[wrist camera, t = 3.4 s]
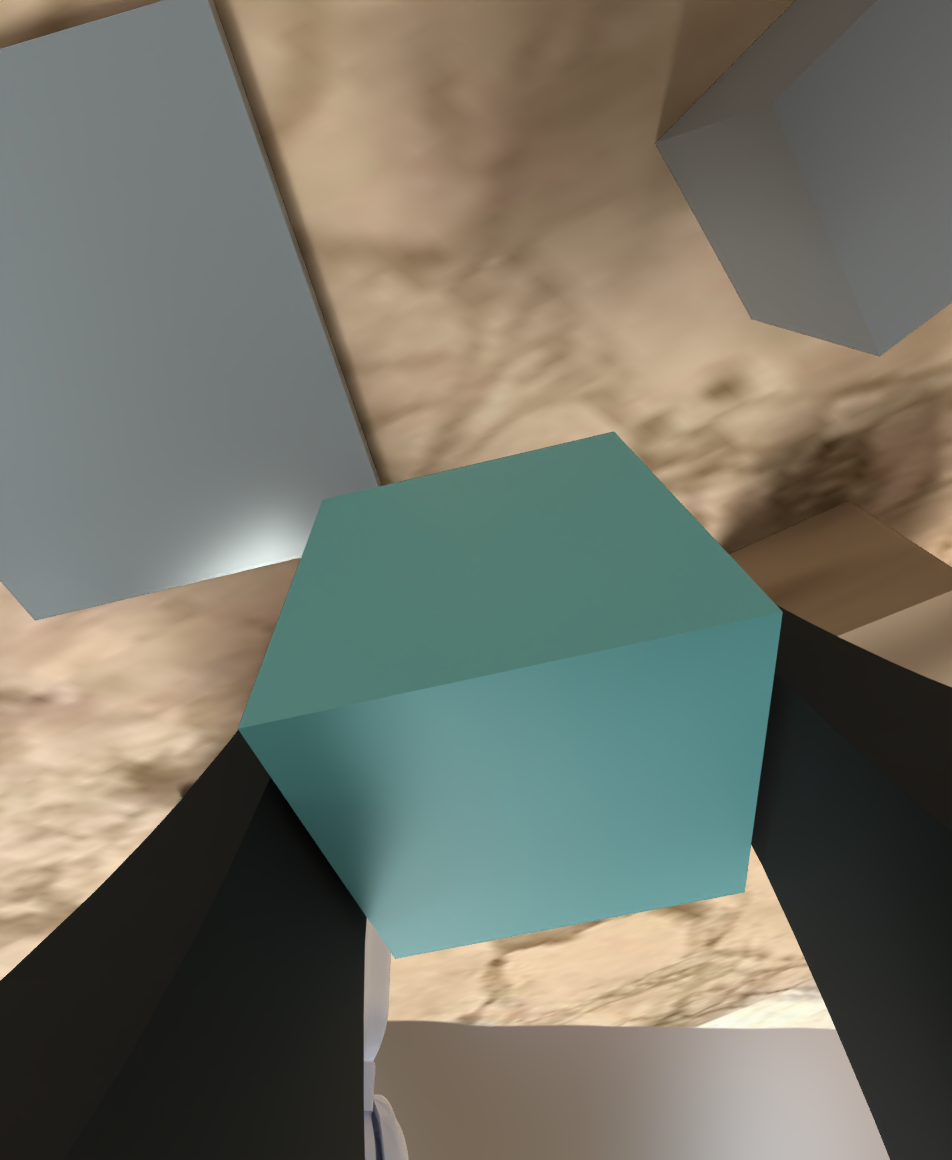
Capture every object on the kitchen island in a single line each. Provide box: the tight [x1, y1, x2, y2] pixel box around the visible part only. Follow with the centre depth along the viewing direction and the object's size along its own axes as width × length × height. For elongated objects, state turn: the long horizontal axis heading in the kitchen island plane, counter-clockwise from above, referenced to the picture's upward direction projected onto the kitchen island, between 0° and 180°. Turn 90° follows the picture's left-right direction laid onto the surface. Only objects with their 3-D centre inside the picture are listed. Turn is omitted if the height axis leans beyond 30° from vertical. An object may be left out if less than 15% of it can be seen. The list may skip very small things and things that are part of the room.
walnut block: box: [729, 501, 952, 687], centre depth 18 cm, size 5×5×5 cm
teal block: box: [238, 432, 783, 959], centre depth 8 cm, size 5×5×5 cm
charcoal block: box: [655, 0, 952, 356], centre depth 11 cm, size 5×5×5 cm
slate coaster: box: [0, 0, 381, 620], centre depth 14 cm, size 12×12×1 cm
